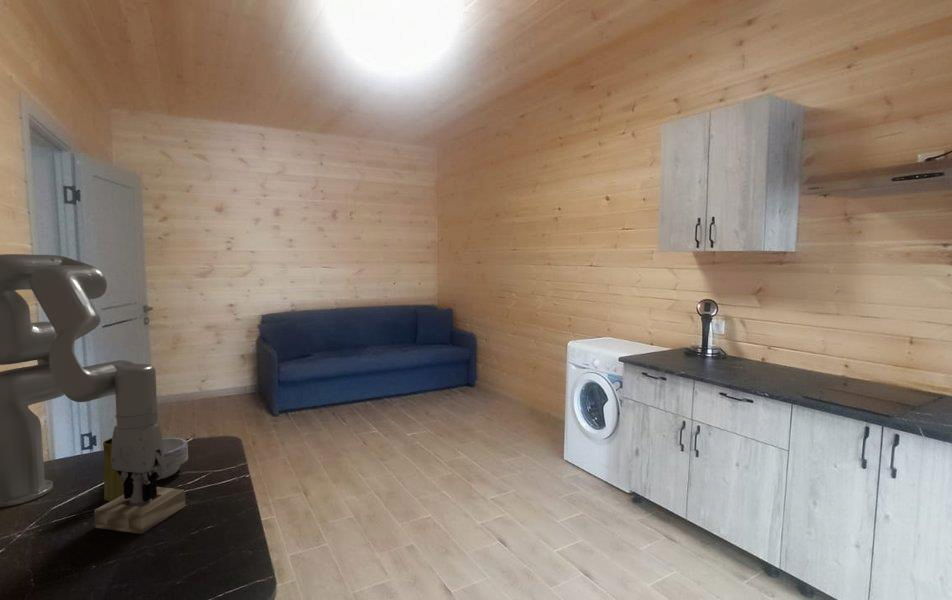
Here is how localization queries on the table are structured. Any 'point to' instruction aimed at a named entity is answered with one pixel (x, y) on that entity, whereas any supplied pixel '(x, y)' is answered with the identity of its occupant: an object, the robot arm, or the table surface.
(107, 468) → the vase
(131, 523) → the socket block
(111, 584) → the table surface
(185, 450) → the paper bowls
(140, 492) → the rook chess piece
